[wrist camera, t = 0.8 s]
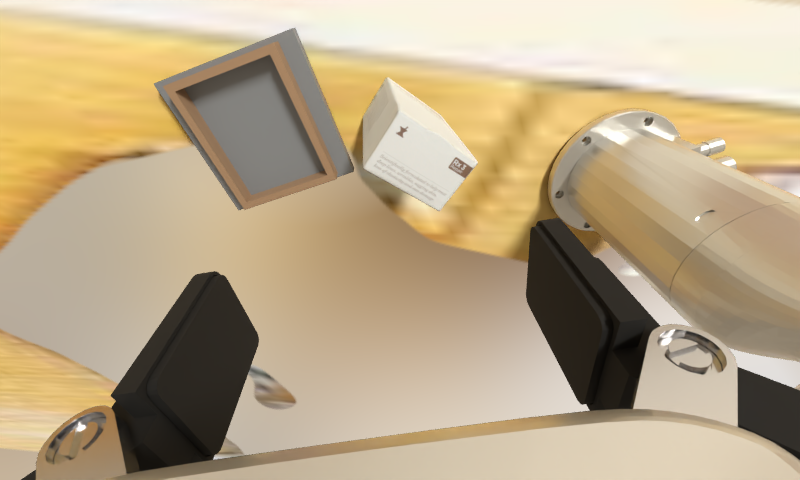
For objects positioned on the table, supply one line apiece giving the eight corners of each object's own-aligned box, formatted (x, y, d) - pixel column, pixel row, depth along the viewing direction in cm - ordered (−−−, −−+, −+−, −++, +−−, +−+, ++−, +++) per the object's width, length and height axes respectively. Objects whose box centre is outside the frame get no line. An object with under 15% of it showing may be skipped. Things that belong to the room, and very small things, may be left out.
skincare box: (361, 119, 31) (354, 171, 21) (388, 72, 29) (395, 105, 19) (417, 154, 33) (436, 218, 23) (446, 113, 31) (481, 163, 21)
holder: (295, 27, 27) (288, 29, 25) (354, 167, 33) (352, 178, 31) (160, 81, 28) (142, 87, 26) (241, 205, 35) (233, 217, 33)
